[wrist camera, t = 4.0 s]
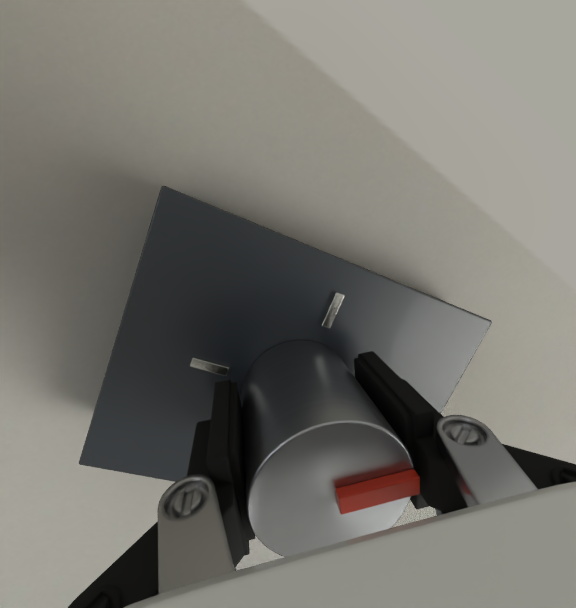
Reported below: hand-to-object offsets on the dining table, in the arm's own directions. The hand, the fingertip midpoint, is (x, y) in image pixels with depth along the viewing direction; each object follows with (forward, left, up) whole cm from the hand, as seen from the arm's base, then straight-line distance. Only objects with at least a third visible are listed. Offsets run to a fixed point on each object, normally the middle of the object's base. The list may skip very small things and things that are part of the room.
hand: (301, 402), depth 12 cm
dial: (0, 0, -1) cm, 1 cm away
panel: (0, 0, -4) cm, 4 cm away
